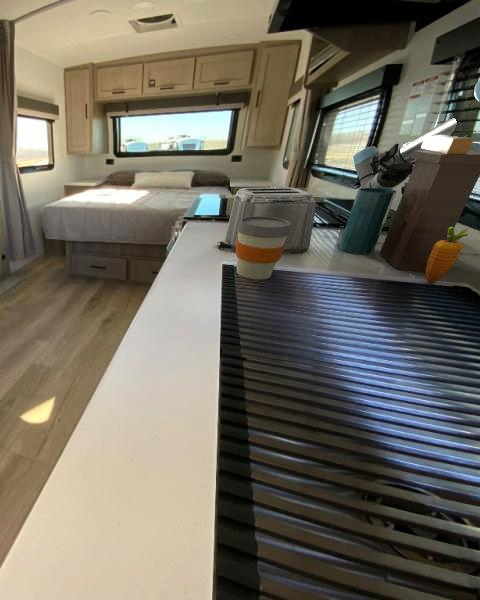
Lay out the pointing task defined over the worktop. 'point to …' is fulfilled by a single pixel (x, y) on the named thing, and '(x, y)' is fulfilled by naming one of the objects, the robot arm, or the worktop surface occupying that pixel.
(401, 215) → the walnut stand
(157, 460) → the worktop surface
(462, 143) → the oak bar
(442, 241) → the carrot
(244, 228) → the reusable coffee cup
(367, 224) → the tall cup
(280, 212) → the toaster
